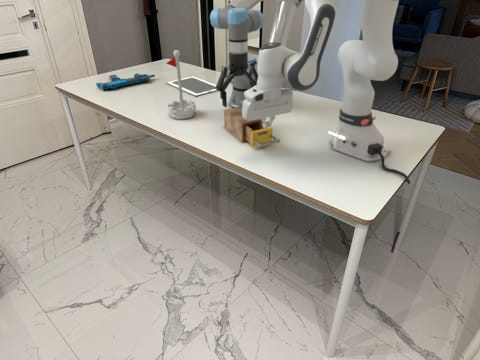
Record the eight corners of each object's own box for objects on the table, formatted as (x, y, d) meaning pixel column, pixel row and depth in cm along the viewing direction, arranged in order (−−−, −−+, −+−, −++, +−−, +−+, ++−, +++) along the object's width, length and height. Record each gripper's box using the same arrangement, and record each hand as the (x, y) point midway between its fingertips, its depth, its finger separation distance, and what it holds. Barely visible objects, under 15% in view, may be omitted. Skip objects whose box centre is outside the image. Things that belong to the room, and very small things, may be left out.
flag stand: (192, 108, 172) (187, 46, 156) (199, 117, 162) (194, 52, 146) (166, 111, 169) (158, 48, 152) (172, 121, 158) (164, 54, 142)
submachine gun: (140, 68, 225) (159, 74, 209) (141, 73, 227) (159, 80, 211) (88, 78, 207) (104, 85, 190) (90, 84, 209) (106, 92, 192)
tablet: (166, 82, 208) (166, 82, 207) (193, 76, 219) (193, 76, 219) (195, 96, 187) (195, 95, 187) (224, 88, 198) (224, 87, 198)
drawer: (280, 148, 134) (281, 133, 130) (259, 154, 130) (260, 138, 127) (252, 128, 150) (253, 114, 146) (234, 132, 146) (234, 118, 143)
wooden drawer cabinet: (263, 137, 144) (264, 118, 140) (242, 142, 140) (242, 123, 136) (244, 122, 157) (244, 105, 153) (224, 127, 153) (223, 109, 149)
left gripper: (260, 46, 142) (259, 95, 154) (205, 53, 132) (208, 105, 144) (270, 50, 136) (268, 100, 148) (213, 58, 127) (216, 111, 139)
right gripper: (288, 84, 128) (285, 118, 135) (239, 92, 120) (240, 128, 127) (297, 89, 123) (294, 124, 131) (248, 98, 115) (248, 135, 123)
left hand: (238, 103), depth 146 cm, fingers open, 13 cm apart
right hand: (267, 126), depth 129 cm, fingers closed
